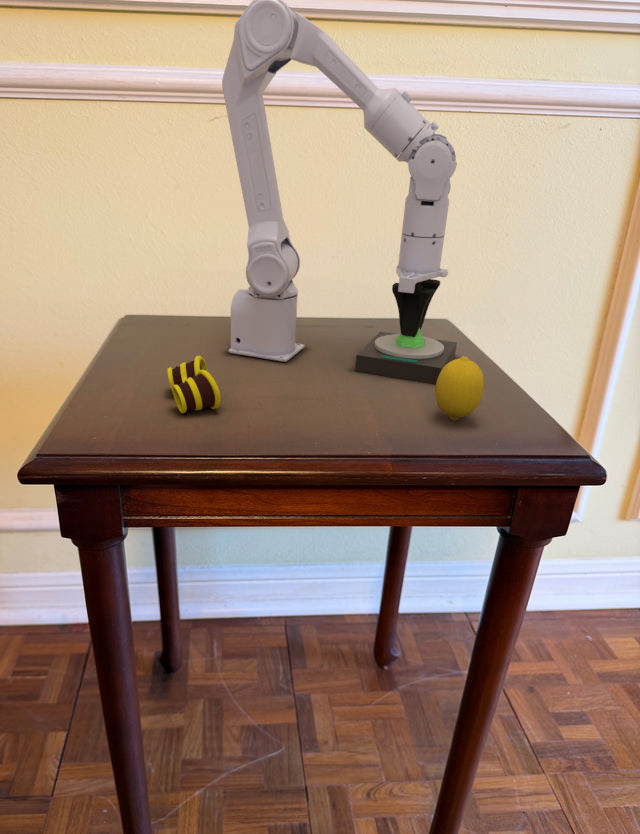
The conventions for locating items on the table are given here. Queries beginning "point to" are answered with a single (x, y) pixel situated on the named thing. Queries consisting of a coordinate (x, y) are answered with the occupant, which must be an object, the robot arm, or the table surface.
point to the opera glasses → (193, 386)
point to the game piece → (411, 341)
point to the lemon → (459, 388)
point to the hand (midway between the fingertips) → (410, 333)
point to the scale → (405, 358)
